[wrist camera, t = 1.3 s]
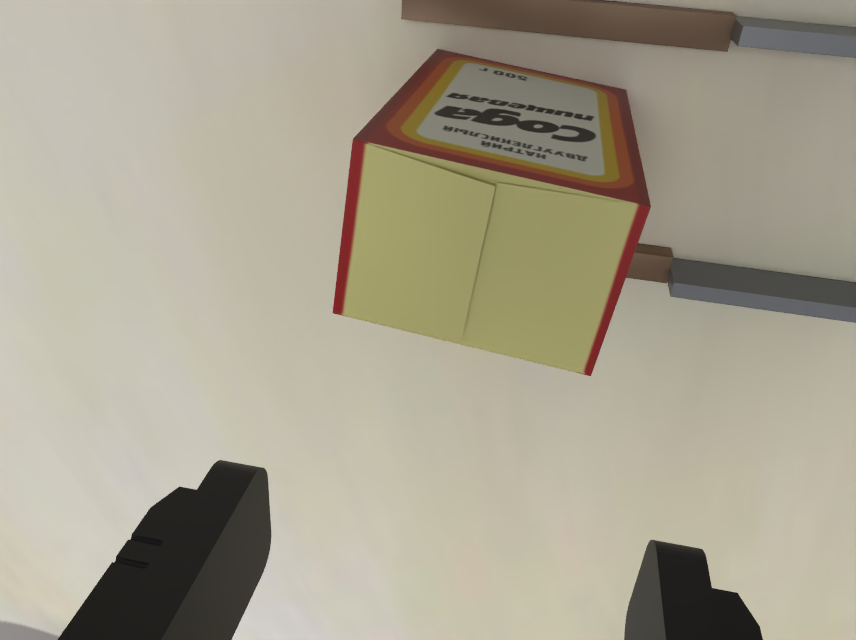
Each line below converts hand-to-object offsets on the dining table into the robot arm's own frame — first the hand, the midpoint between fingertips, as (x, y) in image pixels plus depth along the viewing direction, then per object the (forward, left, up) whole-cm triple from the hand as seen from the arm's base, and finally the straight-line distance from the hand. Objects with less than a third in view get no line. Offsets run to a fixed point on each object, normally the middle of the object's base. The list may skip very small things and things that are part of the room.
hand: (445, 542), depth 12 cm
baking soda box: (+2, -1, -30) cm, 30 cm away
